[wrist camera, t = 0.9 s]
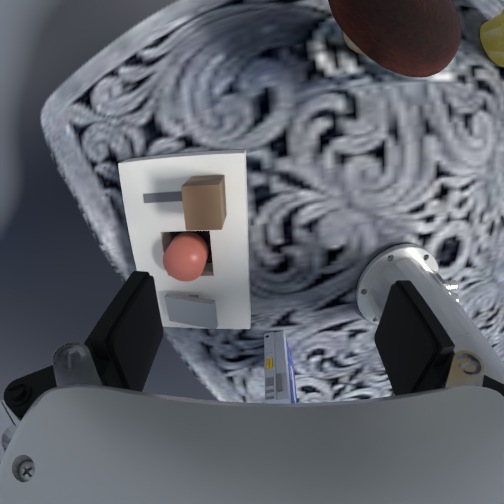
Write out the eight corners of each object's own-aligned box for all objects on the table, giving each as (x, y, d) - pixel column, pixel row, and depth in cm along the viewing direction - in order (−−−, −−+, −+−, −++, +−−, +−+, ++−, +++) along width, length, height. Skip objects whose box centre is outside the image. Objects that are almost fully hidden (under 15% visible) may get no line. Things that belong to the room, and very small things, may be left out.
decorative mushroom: (373, 105, 26) (456, 106, 13) (286, 45, 24) (310, -12, 10) (416, 40, 22) (502, 16, 8) (337, -18, 19) (385, -85, 6)
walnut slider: (224, 174, 27) (218, 184, 23) (226, 214, 29) (221, 229, 25) (191, 176, 27) (181, 186, 23) (195, 215, 29) (185, 230, 25)
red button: (206, 231, 31) (201, 243, 28) (210, 267, 33) (206, 281, 30) (167, 232, 31) (159, 244, 28) (173, 267, 33) (166, 281, 30)
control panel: (245, 149, 29) (243, 154, 25) (250, 314, 38) (250, 333, 35) (129, 158, 29) (114, 165, 26) (157, 312, 39) (149, 330, 35)
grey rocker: (215, 300, 31) (212, 304, 31) (218, 325, 33) (215, 329, 32) (167, 292, 33) (164, 296, 32) (172, 316, 34) (169, 320, 34)
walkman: (293, 364, 43) (300, 429, 32) (276, 367, 43) (278, 432, 32) (283, 328, 39) (289, 399, 29) (263, 332, 40) (264, 403, 29)
